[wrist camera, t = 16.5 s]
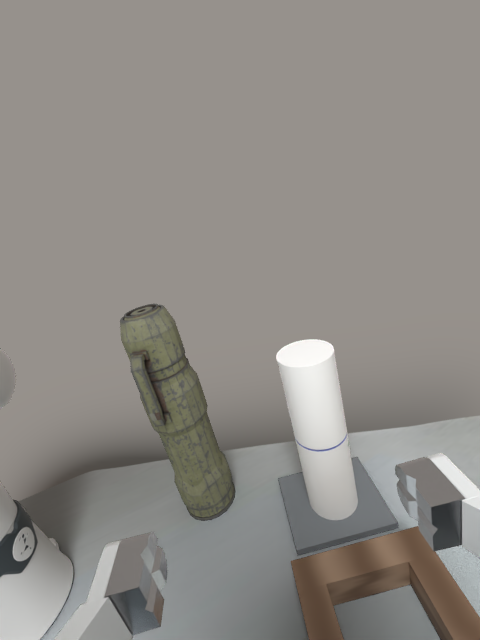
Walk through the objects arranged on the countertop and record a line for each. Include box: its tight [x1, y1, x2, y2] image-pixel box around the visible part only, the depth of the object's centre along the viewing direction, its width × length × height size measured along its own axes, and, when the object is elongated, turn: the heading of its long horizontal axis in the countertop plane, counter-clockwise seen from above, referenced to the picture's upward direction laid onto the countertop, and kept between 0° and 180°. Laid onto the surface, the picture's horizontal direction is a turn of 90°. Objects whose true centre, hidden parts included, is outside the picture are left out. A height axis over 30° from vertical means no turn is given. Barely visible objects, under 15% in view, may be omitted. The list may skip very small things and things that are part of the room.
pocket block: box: [291, 526, 480, 640], centre depth 31 cm, size 16×16×4 cm
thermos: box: [120, 304, 235, 521], centre depth 48 cm, size 9×12×35 cm
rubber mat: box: [278, 457, 398, 555], centre depth 47 cm, size 14×12×1 cm
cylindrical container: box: [276, 339, 358, 520], centre depth 43 cm, size 7×7×25 cm
